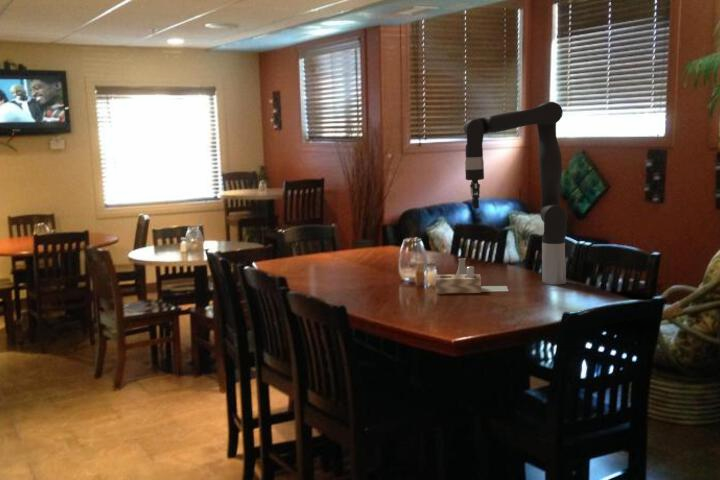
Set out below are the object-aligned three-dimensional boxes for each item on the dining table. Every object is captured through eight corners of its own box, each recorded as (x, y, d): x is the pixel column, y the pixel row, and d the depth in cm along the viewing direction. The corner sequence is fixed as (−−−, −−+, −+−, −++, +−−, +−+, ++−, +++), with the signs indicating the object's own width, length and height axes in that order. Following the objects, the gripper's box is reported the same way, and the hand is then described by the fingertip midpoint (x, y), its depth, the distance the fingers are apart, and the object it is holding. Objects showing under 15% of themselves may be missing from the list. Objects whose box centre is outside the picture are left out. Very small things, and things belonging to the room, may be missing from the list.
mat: (506, 286, 298) (506, 285, 298) (508, 292, 288) (508, 291, 288) (477, 287, 299) (477, 286, 299) (478, 292, 290) (478, 291, 290)
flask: (470, 283, 309) (470, 260, 307) (453, 283, 310) (453, 260, 309) (471, 279, 316) (470, 257, 314) (454, 279, 317) (454, 257, 316)
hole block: (480, 288, 297) (479, 274, 296) (481, 293, 288) (481, 278, 287) (436, 288, 300) (436, 274, 299) (436, 294, 290) (435, 279, 289)
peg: (474, 290, 294) (473, 266, 293) (474, 291, 291) (474, 267, 290) (466, 290, 295) (466, 266, 293) (467, 291, 292) (466, 267, 290)
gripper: (484, 168, 287) (485, 208, 290) (482, 167, 301) (483, 205, 304) (466, 169, 288) (467, 209, 290) (464, 167, 302) (465, 206, 304)
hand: (475, 207), depth 297 cm, fingers open, 8 cm apart
